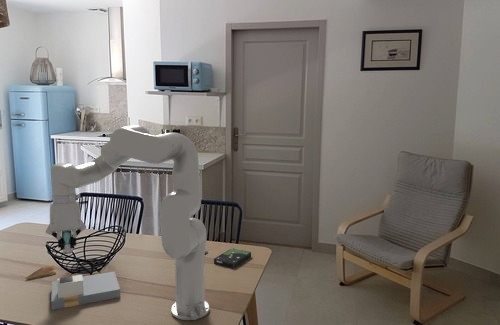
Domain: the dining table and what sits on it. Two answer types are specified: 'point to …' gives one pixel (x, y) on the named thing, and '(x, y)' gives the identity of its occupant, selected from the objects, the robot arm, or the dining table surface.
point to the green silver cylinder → (67, 242)
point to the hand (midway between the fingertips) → (67, 247)
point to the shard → (42, 272)
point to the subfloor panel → (89, 291)
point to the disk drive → (232, 258)
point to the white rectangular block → (70, 286)
